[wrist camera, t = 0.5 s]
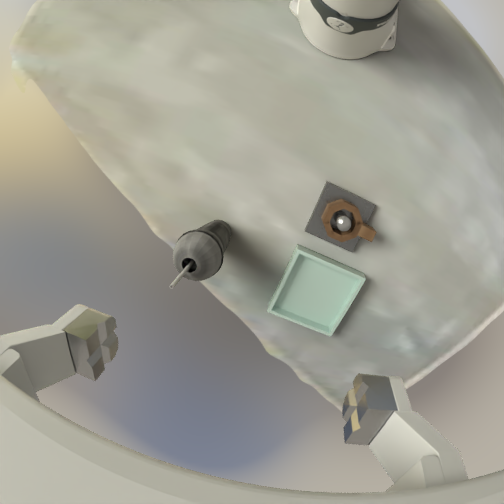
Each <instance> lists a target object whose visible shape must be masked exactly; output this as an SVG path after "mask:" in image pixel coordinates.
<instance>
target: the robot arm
mask: <svg viewBox="0 0 504 504" xmlns="http://www.w3.org/2000/svg"><path fill="white" fill-rule="evenodd" d="M398 4H399V0H292V1H291V2H290V5H289V9H290V11H291V12H292V13H293V14H294V15H295V16H296V17H297V18H298V20H299V22H300V25H301V28H302V31H303V33H304V35H305V36H306V38H307V39H308V40H309V41H310V42H311V44H313V45H314V46H315V47H316V48H317V49H319V50H320V51H322V52H324V53H326V54H328V55H331V56H333V57H337V58H342V59H359V58H363V57H366V56H368V55H370V54H372V53H374V52H377V51H389V50H392V49H393V48H394V46H395V41H396V30H397V16H398ZM389 38H390V40H389ZM115 328H116V320H115V318H114V317H112V316H110V315H107V314H104V313H102V312H99V311H96V310H94V309H91V308H88V307H86V306H84V305H81V304H78V305H75V306H74V307H73V308H72V309H71V310H69V311H68V312H67V313H66V314H65V315H63V316H62V317H61V318H60V319H58V320H57V321H56V322H55V323H54V324H53V325H49V324H47V325H43V326H39V327H34V328H30V329H26V330H22V331H18V332H14V333H9V334H5V335H1V336H0V504H504V470H501V471H498V472H495V473H491V474H488V475H484V476H480V477H476V478H472V479H468V476H467V472H466V470H465V466H464V463H463V459H462V456H461V453H460V451H459V450H458V449H457V448H456V447H455V446H454V445H452V444H451V443H450V442H449V441H448V440H447V439H446V438H445V437H444V436H443V435H442V434H440V433H439V432H438V431H437V430H436V429H435V428H434V427H433V426H431V424H429V423H428V422H427V421H426V420H425V419H424V418H423V417H421V415H420V414H418V413H417V412H415V411H412V408H411V405H410V402H409V398H408V395H407V392H406V389H405V386H404V383H403V380H402V378H401V377H396V376H379V375H369V374H360V373H359V374H358V375H357V376H356V377H355V379H354V381H353V386H354V388H353V389H351V390H349V391H348V393H347V395H346V397H345V399H344V403H343V410H342V414H343V418H344V419H345V421H346V422H347V423H346V425H345V426H344V440H345V443H346V444H358V445H369V448H370V449H371V451H372V452H373V454H374V455H375V457H376V458H377V459H378V461H379V462H380V464H381V465H382V466H383V468H384V469H385V471H386V472H387V474H388V475H389V476H390V478H391V479H392V481H393V482H394V485H392V486H391V487H390V488H389V489H387V490H386V491H385V492H373V493H327V492H310V491H298V490H288V489H280V488H272V487H266V486H259V485H253V484H247V483H242V482H237V481H233V480H228V479H224V478H219V477H215V476H211V475H207V474H203V473H199V472H196V471H192V470H189V469H185V468H182V467H178V466H175V465H173V464H169V463H166V462H163V461H161V460H157V459H155V458H152V457H149V456H147V455H144V454H141V453H139V452H136V451H134V450H131V449H129V448H126V447H124V446H122V445H119V444H117V443H115V442H113V441H110V440H108V439H106V438H104V437H102V436H100V435H98V434H96V433H94V432H91V431H90V430H88V429H86V428H84V427H82V426H80V425H78V424H76V423H74V422H72V421H71V420H69V419H67V418H65V417H63V416H62V415H60V414H58V413H56V412H55V411H53V410H52V409H50V408H48V407H46V406H45V405H43V404H42V403H40V401H39V399H38V397H37V395H36V392H37V391H39V390H42V389H44V388H46V387H48V386H50V385H53V384H55V383H57V382H59V381H61V380H63V379H66V378H68V377H70V376H72V375H75V374H76V373H78V374H80V375H82V376H84V377H87V378H89V379H92V380H94V381H96V380H97V378H98V377H99V376H100V375H101V373H102V372H103V371H104V369H105V368H104V364H106V363H108V362H111V361H112V360H113V358H114V357H115V355H116V352H117V350H118V337H117V335H116V334H115V332H114V330H115Z"/></svg>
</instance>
